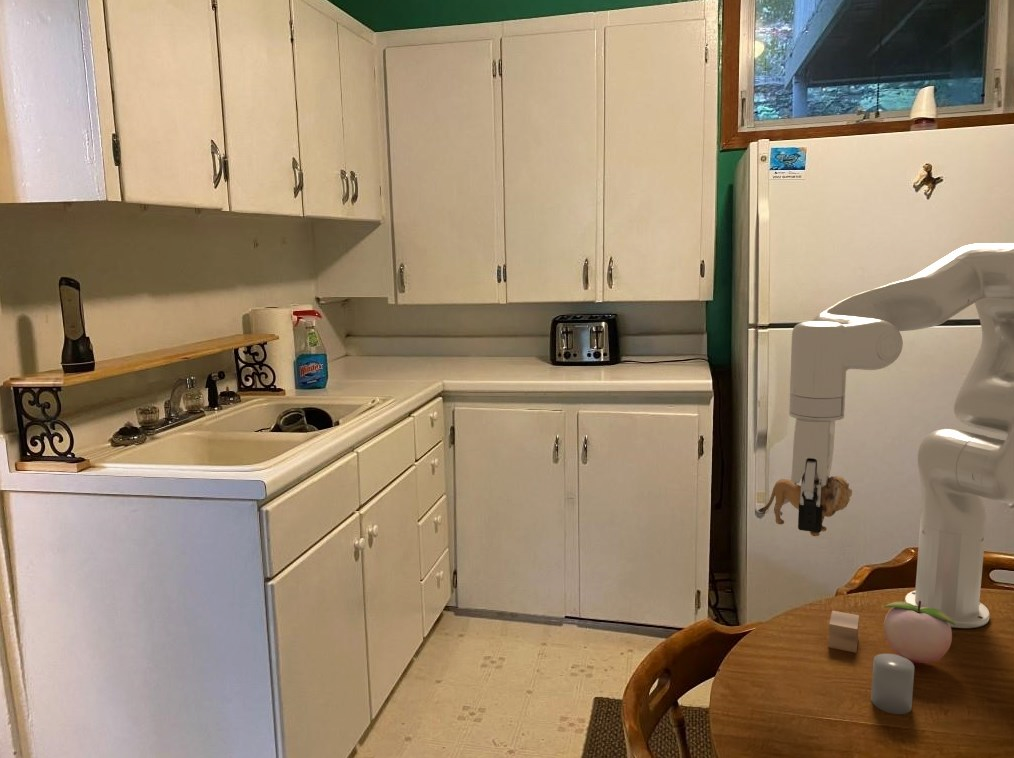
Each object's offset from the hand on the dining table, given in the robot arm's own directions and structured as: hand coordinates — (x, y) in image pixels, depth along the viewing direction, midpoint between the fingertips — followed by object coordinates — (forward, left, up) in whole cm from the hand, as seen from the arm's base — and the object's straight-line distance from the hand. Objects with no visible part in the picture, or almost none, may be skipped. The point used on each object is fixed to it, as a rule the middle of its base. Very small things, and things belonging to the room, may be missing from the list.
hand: (812, 521), depth 116 cm
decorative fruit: (-3, +15, -22) cm, 27 cm away
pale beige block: (-6, +5, -22) cm, 23 cm away
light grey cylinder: (+9, +12, -22) cm, 26 cm away
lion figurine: (-1, -1, -2) cm, 2 cm away
